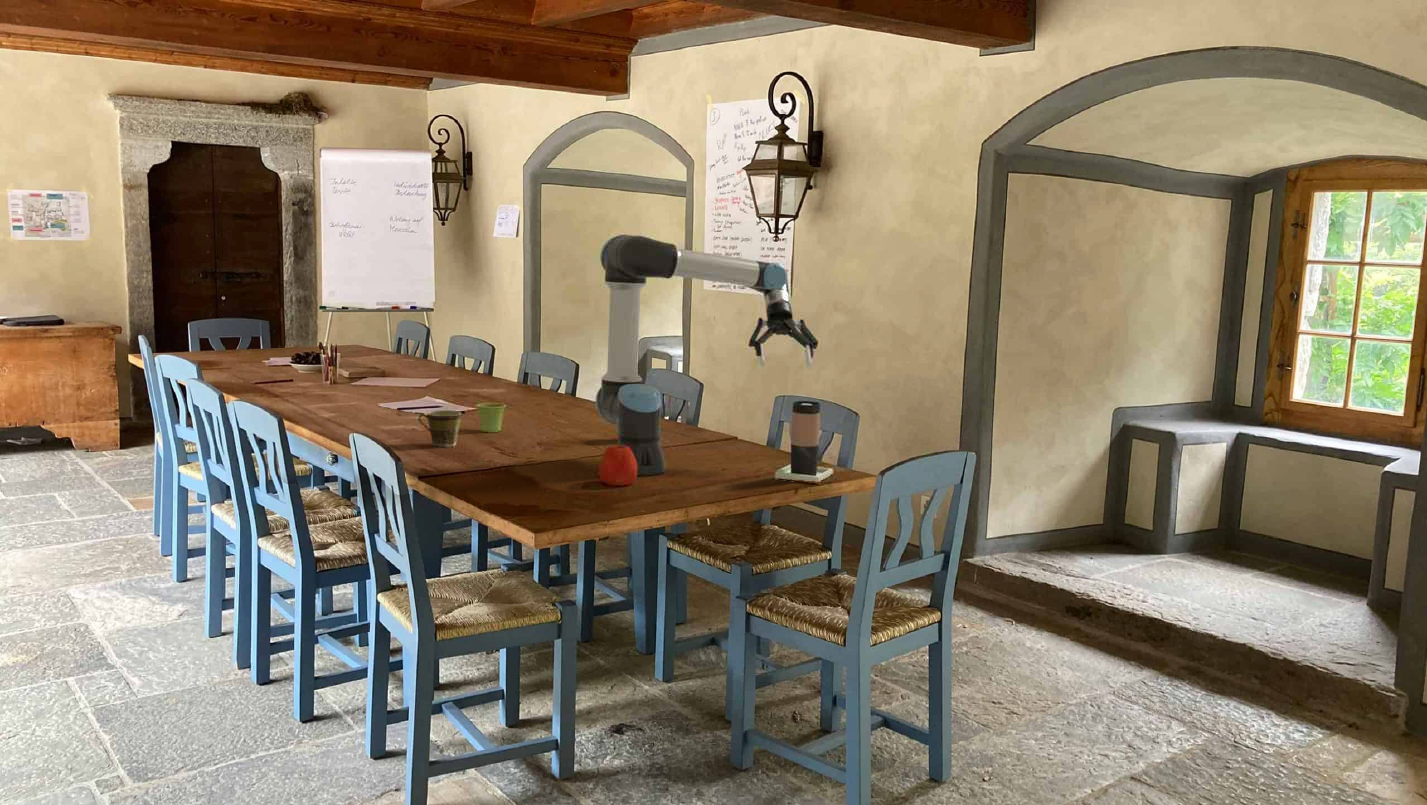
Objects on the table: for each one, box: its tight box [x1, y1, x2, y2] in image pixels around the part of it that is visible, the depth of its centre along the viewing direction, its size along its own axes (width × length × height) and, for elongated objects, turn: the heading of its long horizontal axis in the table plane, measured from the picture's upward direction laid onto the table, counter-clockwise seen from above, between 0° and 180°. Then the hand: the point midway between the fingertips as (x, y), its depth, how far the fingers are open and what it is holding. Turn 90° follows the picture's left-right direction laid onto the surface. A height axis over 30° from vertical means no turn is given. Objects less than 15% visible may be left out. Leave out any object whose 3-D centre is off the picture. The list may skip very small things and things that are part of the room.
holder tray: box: [774, 463, 834, 482], centre depth 305 cm, size 12×12×2 cm
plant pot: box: [476, 402, 507, 433], centre depth 360 cm, size 9×9×9 cm
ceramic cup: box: [418, 410, 462, 448], centre depth 335 cm, size 13×10×10 cm
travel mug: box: [790, 400, 821, 476], centre depth 304 cm, size 8×8×20 cm
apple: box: [598, 444, 638, 487], centre depth 291 cm, size 10×10×10 cm
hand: (786, 364), depth 316 cm, fingers open, 13 cm apart
